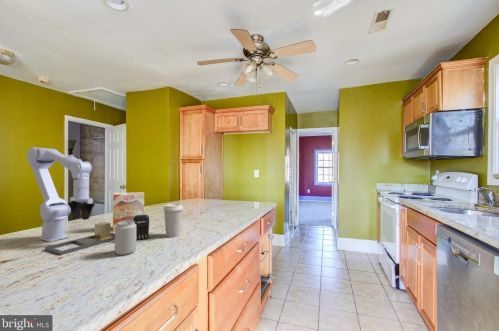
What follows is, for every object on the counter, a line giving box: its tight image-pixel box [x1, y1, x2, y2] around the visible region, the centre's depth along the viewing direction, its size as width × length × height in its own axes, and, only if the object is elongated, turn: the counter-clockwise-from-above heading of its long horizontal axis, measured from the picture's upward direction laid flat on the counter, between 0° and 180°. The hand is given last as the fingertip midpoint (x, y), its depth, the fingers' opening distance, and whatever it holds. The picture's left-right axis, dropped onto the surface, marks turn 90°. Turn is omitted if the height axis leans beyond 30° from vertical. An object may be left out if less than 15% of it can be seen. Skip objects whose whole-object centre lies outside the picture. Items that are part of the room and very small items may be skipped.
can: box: [114, 221, 137, 256], centre depth 91 cm, size 8×8×12 cm
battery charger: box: [133, 213, 150, 241], centre depth 108 cm, size 7×4×11 cm, turn 119°
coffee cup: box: [162, 203, 184, 238], centre depth 115 cm, size 10×10×15 cm
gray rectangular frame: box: [44, 232, 115, 256], centre depth 102 cm, size 12×25×1 cm, turn 153°
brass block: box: [94, 221, 111, 240], centre depth 108 cm, size 4×4×7 cm
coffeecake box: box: [112, 191, 145, 232], centre depth 127 cm, size 15×7×20 cm, turn 119°
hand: (81, 218), depth 104 cm, fingers open, 7 cm apart
